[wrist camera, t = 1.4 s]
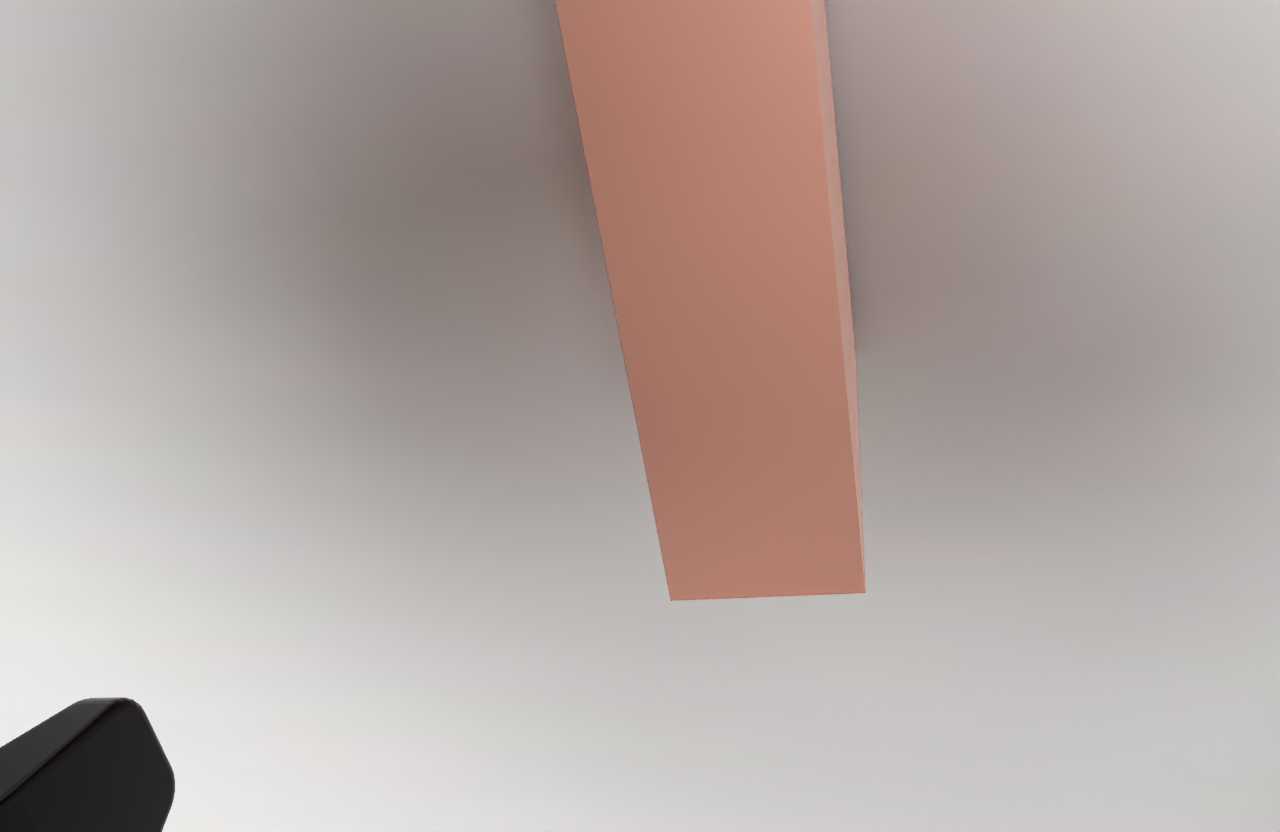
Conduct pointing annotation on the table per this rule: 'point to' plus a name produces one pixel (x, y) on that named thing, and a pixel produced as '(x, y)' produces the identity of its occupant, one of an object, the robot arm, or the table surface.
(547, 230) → the table surface
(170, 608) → the table surface
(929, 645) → the table surface
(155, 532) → the table surface
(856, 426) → the pink ridged slab
